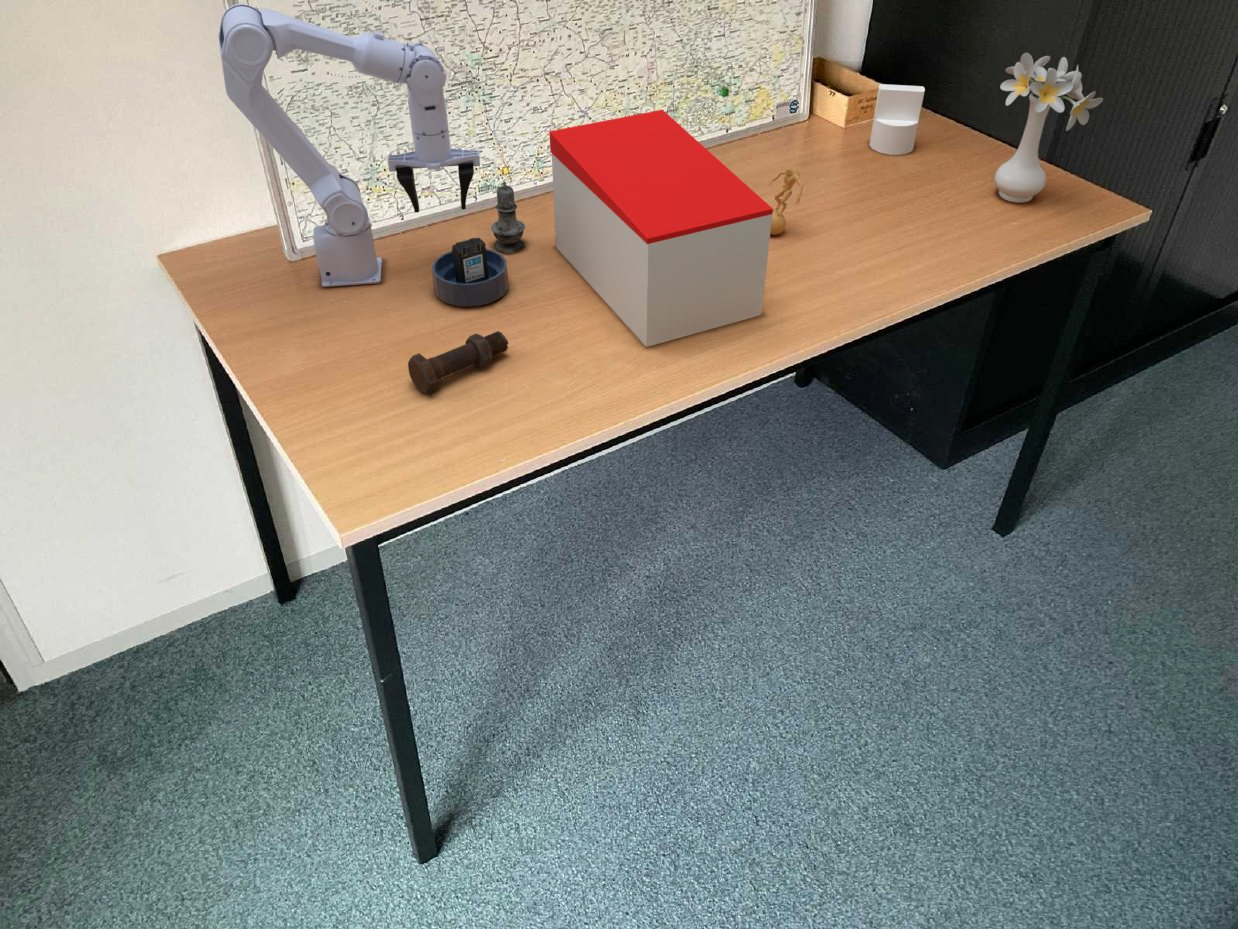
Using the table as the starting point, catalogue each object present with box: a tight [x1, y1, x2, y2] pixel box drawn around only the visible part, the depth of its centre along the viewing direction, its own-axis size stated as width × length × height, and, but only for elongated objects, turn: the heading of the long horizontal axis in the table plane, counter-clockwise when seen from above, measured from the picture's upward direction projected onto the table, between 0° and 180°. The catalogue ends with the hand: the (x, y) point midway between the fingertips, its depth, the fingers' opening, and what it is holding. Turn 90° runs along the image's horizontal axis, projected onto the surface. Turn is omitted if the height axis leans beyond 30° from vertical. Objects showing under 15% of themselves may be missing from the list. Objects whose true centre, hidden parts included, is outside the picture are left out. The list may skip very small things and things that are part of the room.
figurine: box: [768, 167, 804, 236], centre depth 176 cm, size 8×6×12 cm
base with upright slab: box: [868, 83, 926, 156], centre depth 205 cm, size 9×9×12 cm
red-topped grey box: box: [548, 109, 774, 348], centre depth 161 cm, size 21×35×21 cm, turn 26°
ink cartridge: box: [451, 237, 489, 283], centre depth 162 cm, size 5×2×8 cm, turn 123°
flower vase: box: [993, 52, 1104, 204], centre depth 182 cm, size 13×18×25 cm
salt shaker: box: [490, 181, 526, 254], centre depth 173 cm, size 6×6×12 cm
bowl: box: [431, 248, 509, 307], centre depth 164 cm, size 12×12×4 cm
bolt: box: [407, 330, 509, 395], centre depth 146 cm, size 6×5×15 cm
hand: (440, 208), depth 167 cm, fingers open, 7 cm apart
